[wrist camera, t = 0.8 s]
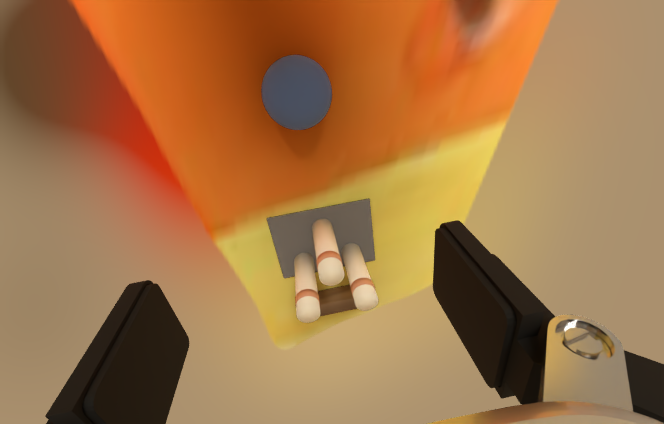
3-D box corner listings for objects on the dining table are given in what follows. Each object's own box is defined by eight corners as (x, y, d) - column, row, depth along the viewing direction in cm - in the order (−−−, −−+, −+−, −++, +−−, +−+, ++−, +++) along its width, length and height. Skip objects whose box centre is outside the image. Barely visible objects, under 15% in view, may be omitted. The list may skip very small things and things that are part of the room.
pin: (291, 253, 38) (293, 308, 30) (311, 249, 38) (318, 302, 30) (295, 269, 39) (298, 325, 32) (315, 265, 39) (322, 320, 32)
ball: (256, 59, 28) (249, 63, 22) (322, 48, 28) (330, 49, 23) (272, 126, 30) (269, 143, 25) (331, 115, 31) (341, 130, 26)
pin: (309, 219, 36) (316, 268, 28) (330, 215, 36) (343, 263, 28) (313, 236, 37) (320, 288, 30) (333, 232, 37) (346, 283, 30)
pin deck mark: (266, 218, 35) (266, 219, 35) (369, 198, 36) (369, 199, 36) (284, 277, 40) (284, 278, 40) (374, 259, 40) (375, 260, 40)
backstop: (297, 295, 41) (297, 309, 39) (369, 280, 42) (374, 293, 40) (299, 306, 42) (300, 320, 40) (370, 291, 43) (375, 304, 41)
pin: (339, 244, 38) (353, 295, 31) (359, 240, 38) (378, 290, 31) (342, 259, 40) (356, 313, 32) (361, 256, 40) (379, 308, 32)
